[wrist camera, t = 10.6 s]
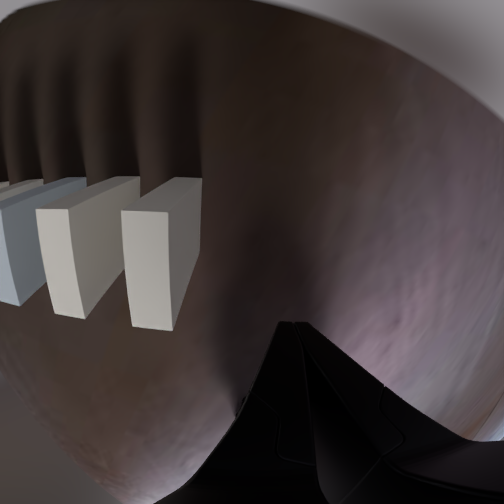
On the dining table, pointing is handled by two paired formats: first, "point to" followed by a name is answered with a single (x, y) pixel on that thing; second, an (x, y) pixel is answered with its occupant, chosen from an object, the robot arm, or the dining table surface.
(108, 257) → the domino
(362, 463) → the robot arm
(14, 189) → the domino
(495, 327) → the dining table surface
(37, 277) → the domino
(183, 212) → the domino
